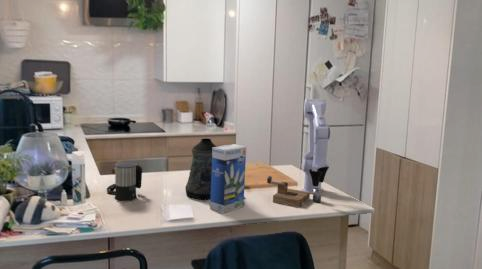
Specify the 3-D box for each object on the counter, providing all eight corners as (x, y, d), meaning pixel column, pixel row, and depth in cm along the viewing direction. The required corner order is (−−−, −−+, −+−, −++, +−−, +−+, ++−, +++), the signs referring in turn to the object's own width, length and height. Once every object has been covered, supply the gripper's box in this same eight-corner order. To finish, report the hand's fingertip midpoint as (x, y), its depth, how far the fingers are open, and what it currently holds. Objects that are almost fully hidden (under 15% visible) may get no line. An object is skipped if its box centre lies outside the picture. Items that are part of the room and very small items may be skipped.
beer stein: (191, 202, 205) (192, 144, 201) (179, 189, 223) (180, 135, 218) (227, 199, 211) (230, 142, 207) (213, 186, 229) (215, 134, 224)
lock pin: (268, 182, 218) (268, 175, 218) (284, 185, 215) (285, 178, 214) (266, 183, 217) (266, 176, 216) (283, 186, 213) (283, 179, 213)
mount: (284, 194, 222) (285, 179, 221) (309, 198, 217) (310, 183, 216) (272, 202, 210) (273, 186, 208) (298, 207, 205) (300, 190, 203)
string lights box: (222, 213, 192) (225, 150, 188) (208, 209, 197) (211, 147, 192) (244, 206, 202) (247, 146, 197) (230, 202, 207) (233, 143, 202)
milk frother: (131, 202, 201) (131, 167, 199) (96, 198, 204) (95, 164, 202) (144, 192, 215) (144, 160, 212) (111, 189, 218) (111, 157, 215)
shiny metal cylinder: (314, 199, 216) (314, 187, 215) (321, 201, 214) (322, 189, 213) (311, 201, 213) (312, 189, 212) (319, 203, 211) (320, 191, 210)
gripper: (324, 157, 202) (322, 189, 204) (333, 152, 214) (331, 181, 217) (308, 155, 205) (306, 186, 207) (318, 150, 218) (316, 179, 220)
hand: (318, 184), depth 212 cm, fingers open, 7 cm apart
